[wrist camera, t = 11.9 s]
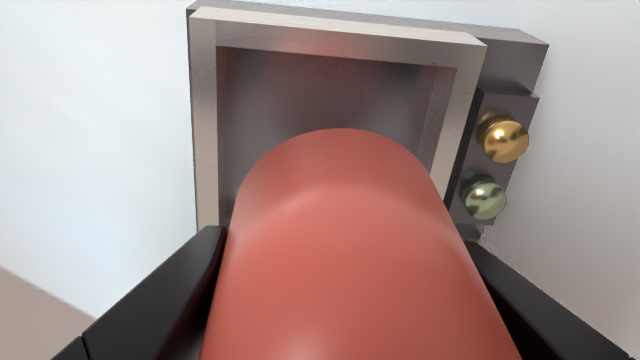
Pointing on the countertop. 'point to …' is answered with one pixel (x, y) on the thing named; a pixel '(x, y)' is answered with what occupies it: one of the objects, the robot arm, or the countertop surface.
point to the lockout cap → (347, 262)
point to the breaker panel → (359, 97)
